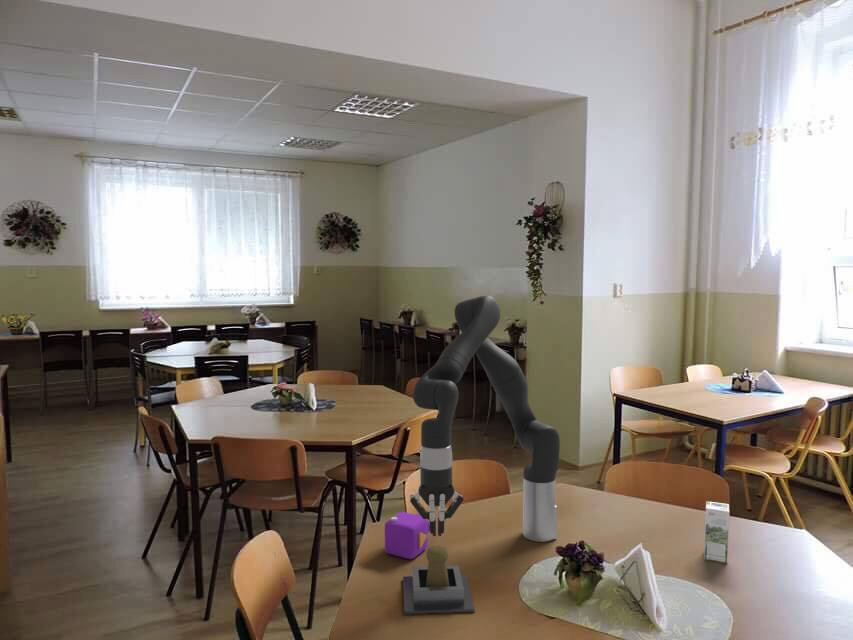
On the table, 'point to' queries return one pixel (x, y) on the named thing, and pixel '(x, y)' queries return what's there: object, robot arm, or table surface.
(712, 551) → the syrup box
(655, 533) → the table surface
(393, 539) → the toy camera
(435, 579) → the cork
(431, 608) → the collar mount
